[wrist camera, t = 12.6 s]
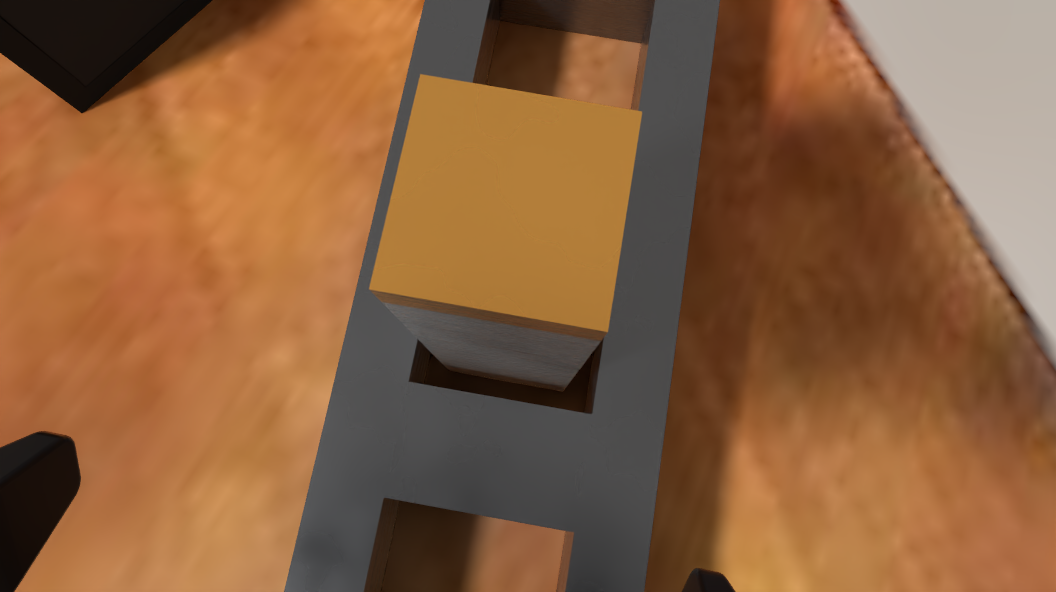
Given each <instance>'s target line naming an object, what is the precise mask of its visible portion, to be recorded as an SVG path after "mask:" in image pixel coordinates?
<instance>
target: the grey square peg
mask: <svg viewBox="0 0 1056 592" xmlns="http://www.w3.org/2000/svg"><path fill="white" fill-rule="evenodd" d="M641 117H642V111H636V110H630V109H624V108H618V107H612V106H606V105H600V104H595V103H589V102H583V101H577V100H571V99H565V98H559V97H553V96H547V95H541V94H535V93H529V92H523V91H518V90H512V89H506V88H500V87H494V86H488V85H482V84H476V83H470V82H464V81H458V80H452V79H446V78H441V77H435V76H429V75H423V74H420V78H419V82H418V86H417V90H416V94H415V98H414V103H413V107H412V111H411V115H410V119H409V124H408V128H407V132H406V136H405V140H404V144H403V149H402V153H401V157H400V161H399V165H398V170H397V174H396V178H395V182H394V186H393V190H392V195H391V199H390V203H389V207H388V211H387V216H386V220H385V224H384V228H383V232H382V236H381V241H380V245H379V249H378V253H377V257H376V262H375V266H374V270H373V274H372V278H371V282H370V287H369V290H370V291H371V292H372V293H373V294H374V295H375V296H376V297H377V298H378V299H379V300H380V301H381V302H382V303H383V304H384V305H385V306H386V307H387V308H388V309H389V310H390V311H391V312H392V313H393V314H394V315H395V316H396V317H397V318H398V319H399V320H400V321H401V322H402V323H403V324H404V325H405V326H406V327H407V328H408V329H409V331H410V332H411V333H412V334H413V335H414V336H415V337H416V338H417V339H418V340H419V341H420V342H421V343H422V344H423V345H424V346H425V347H426V348H427V349H428V350H429V351H430V352H431V353H432V354H433V355H434V356H435V357H436V358H437V359H438V360H439V361H440V362H441V363H442V364H443V365H444V366H445V367H446V368H447V369H448V370H449V371H452V372H458V373H463V374H468V375H474V376H479V377H485V378H490V379H496V380H501V381H507V382H512V383H518V384H523V385H529V386H534V387H540V388H545V389H551V390H556V391H562V392H563V391H564V389H565V388H566V387H567V385H568V384H569V383H570V381H571V380H572V379H573V377H574V376H575V375H576V373H577V372H578V371H579V370H580V368H581V367H582V366H583V364H584V363H585V362H586V360H587V359H588V358H589V356H590V355H591V354H592V352H593V351H594V350H595V348H596V347H597V346H598V344H599V343H600V342H601V340H602V339H603V338H604V336H605V335H606V334H607V333H608V328H609V322H610V315H611V309H612V303H613V296H614V290H615V283H616V277H617V271H618V264H619V258H620V252H621V245H622V239H623V232H624V226H625V220H626V213H627V207H628V200H629V194H630V188H631V181H632V175H633V168H634V162H635V156H636V149H637V143H638V137H639V130H640V124H641Z"/></svg>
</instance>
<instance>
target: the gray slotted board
mask: <svg viewBox="0 0 1056 592" xmlns="http://www.w3.org/2000/svg"><path fill="white" fill-rule="evenodd" d="M719 3H720V0H425V2H424V6H423V10H422V14H421V19H420V23H419V27H418V31H417V36H416V40H415V44H414V48H413V52H412V57H411V61H410V65H409V69H408V73H407V78H406V82H405V86H404V90H403V94H402V99H401V103H400V107H399V111H398V115H397V120H396V124H395V128H394V132H393V136H392V141H391V145H390V149H389V153H388V157H387V162H386V166H385V170H384V174H383V178H382V183H381V187H380V191H379V195H378V199H377V204H376V208H375V212H374V216H373V220H372V225H371V229H370V233H369V237H368V241H367V246H366V250H365V254H364V258H363V262H362V267H361V271H360V275H359V279H358V284H357V288H356V292H355V296H354V300H353V305H352V309H351V313H350V317H349V321H348V326H347V330H346V334H345V338H344V342H343V347H342V351H341V355H340V359H339V363H338V368H337V372H336V376H335V380H334V384H333V389H332V393H331V397H330V401H329V405H328V410H327V414H326V418H325V422H324V426H323V431H322V435H321V439H320V443H319V447H318V452H317V456H316V460H315V464H314V468H313V473H312V477H311V481H310V485H309V489H308V494H307V498H306V502H305V506H304V510H303V515H302V519H301V523H300V527H299V531H298V536H297V540H296V544H295V548H294V553H293V557H292V561H291V565H290V569H289V574H288V578H287V582H286V586H285V590H284V592H381V588H382V583H383V579H384V574H385V569H386V564H387V559H388V555H389V550H390V545H391V540H392V535H393V531H394V526H395V521H396V516H397V511H398V507H399V502H400V501H406V502H411V503H416V504H422V505H427V506H433V507H438V508H444V509H449V510H455V511H460V512H466V513H471V514H477V515H482V516H487V517H493V518H498V519H504V520H509V521H515V522H520V523H526V524H531V525H537V526H542V527H547V528H553V529H558V530H564V531H566V533H565V539H564V545H563V552H562V558H561V565H560V571H559V578H558V584H557V591H556V592H644V589H645V581H646V573H647V565H648V557H649V550H650V542H651V534H652V526H653V518H654V510H655V503H656V495H657V487H658V479H659V471H660V464H661V456H662V448H663V440H664V432H665V425H666V417H667V409H668V401H669V393H670V386H671V378H672V370H673V362H674V354H675V347H676V339H677V331H678V323H679V315H680V308H681V300H682V292H683V284H684V276H685V269H686V261H687V253H688V245H689V237H690V230H691V222H692V214H693V206H694V198H695V191H696V183H697V175H698V167H699V159H700V152H701V144H702V136H703V128H704V120H705V113H706V105H707V97H708V89H709V81H710V74H711V66H712V58H713V50H714V42H715V35H716V27H717V19H718V11H719ZM500 21H506V22H513V23H519V24H525V25H531V26H537V27H544V28H550V29H556V30H562V31H568V32H575V33H581V34H587V35H593V36H599V37H606V38H612V39H618V40H624V41H630V42H637V43H641V48H640V55H639V61H638V68H637V74H636V81H635V87H634V94H633V100H632V107H631V110H636V111H642V117H641V124H640V130H639V137H638V143H637V149H636V156H635V162H634V168H633V175H632V181H631V188H630V194H629V200H628V207H627V213H626V220H625V226H624V232H623V239H622V245H621V252H620V258H619V264H618V271H617V277H616V283H615V290H614V296H613V303H612V309H611V315H610V322H609V328H608V333H607V334H606V335H605V336H604V338H603V339H602V340H601V342H600V343H599V344H598V346H597V347H596V348H595V350H594V352H593V358H592V365H591V371H590V378H589V384H588V391H587V397H586V403H585V410H584V413H582V412H576V411H571V410H565V409H559V408H554V407H548V406H542V405H537V404H531V403H526V402H520V401H514V400H509V399H503V398H497V397H492V396H486V395H481V394H475V393H469V392H464V391H458V390H453V389H447V388H441V387H436V386H430V385H424V382H425V377H426V372H427V368H428V363H429V358H430V353H431V352H430V351H429V350H428V349H427V348H426V347H425V346H424V345H423V344H422V343H421V342H420V341H419V340H418V339H417V338H416V337H415V336H414V335H413V334H412V333H411V332H410V331H409V329H408V328H407V327H406V326H405V325H404V324H403V323H402V322H401V321H400V320H399V319H398V318H397V317H396V316H395V315H394V314H393V313H392V312H391V311H390V310H389V309H388V308H387V307H386V306H385V305H384V304H383V303H382V302H381V301H380V300H379V299H378V298H377V297H376V296H375V295H374V294H373V293H372V292H371V291H370V290H369V287H370V282H371V278H372V274H373V270H374V266H375V262H376V257H377V253H378V249H379V245H380V241H381V236H382V232H383V228H384V224H385V220H386V216H387V211H388V207H389V203H390V199H391V195H392V190H393V186H394V182H395V178H396V174H397V170H398V165H399V161H400V157H401V153H402V149H403V144H404V140H405V136H406V132H407V128H408V124H409V119H410V115H411V111H412V107H413V103H414V98H415V94H416V90H417V86H418V82H419V78H420V74H423V75H429V76H435V77H441V78H446V79H452V80H458V81H464V82H470V83H476V84H482V85H487V80H488V75H489V70H490V65H491V61H492V56H493V51H494V46H495V41H496V37H497V32H498V27H499V22H500Z"/></svg>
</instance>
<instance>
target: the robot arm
mask: <svg viewBox="0 0 1056 592" xmlns="http://www.w3.org/2000/svg"><path fill="white" fill-rule="evenodd" d="M80 481H81V475H80V469H79V464H78V458H77V452H76V447H75V443H74V441H73V439H72V438H71V437H69V436H67V435H62V434H57V433H52V432H47V431H40V432H36V433H33V434H31V435H28V436H26V437H24V438H21V439H19V440H17V441H14V442H12V443H10V444H7V445H5V446H3V447H0V592H14V591H15V590H16V588H17V587H18V585H19V584H20V582H21V581H22V579H23V578H24V576H25V575H26V573H27V572H28V570H29V568H30V567H31V565H32V564H33V562H34V561H35V559H36V557H37V556H38V554H39V553H40V551H41V549H42V548H43V546H44V545H45V543H46V542H47V540H48V538H49V537H50V535H51V534H52V532H53V531H54V529H55V527H56V526H57V524H58V523H59V521H60V520H61V518H62V516H63V515H64V513H65V512H66V510H67V508H68V507H69V505H70V504H71V502H72V501H73V499H74V497H75V496H76V494H77V492H78V489H79V486H80ZM682 592H735V590H734V589H733V587H732V586H731V584H730V583H729V581H728V580H727V578H726V577H725V576H724V575H723V574H721V573H719V572H715V571H710V570H705V569H701V568H696V569H694V570H693V571H692V572H691V574H690V576H689V578H688V580H687V582H686V584H685V586H684V588H683V590H682Z"/></svg>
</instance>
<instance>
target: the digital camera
mask: <svg viewBox="0 0 1056 592" xmlns="http://www.w3.org/2000/svg"><path fill="white" fill-rule="evenodd" d="M211 1H212V0H0V53H1V54H3V55H4V56H5V57H7V58H8V59H9V60H11V61H12V62H14V63H15V64H16V65H18V66H19V67H20V68H22V69H23V70H24V71H26V72H27V73H28V74H30V75H31V76H32V77H34V78H35V79H36V80H38V81H39V82H40V83H42V84H43V85H45V86H46V87H47V88H49V89H50V90H51V91H53V92H54V93H55V94H57V95H58V96H59V97H61V98H62V99H63V100H65V101H66V102H67V103H69V104H70V105H71V106H73V107H74V108H76V109H77V110H78V111H80V112H81V113H83V112H84V111H86V110H87V109H88V108H89V107H90V106H91V105H92V104H94V103H95V102H96V101H97V100H98V99H99V98H101V97H102V96H103V95H104V94H105V93H106V92H107V91H109V90H110V89H111V88H112V87H113V86H114V85H115V84H117V83H118V82H119V81H120V80H121V79H122V78H124V77H125V76H126V75H127V74H128V73H129V72H130V71H132V70H133V69H134V68H135V67H136V66H137V65H138V64H140V63H141V62H142V61H143V60H144V59H145V58H147V57H148V56H149V55H150V54H151V53H152V52H153V51H155V50H156V49H157V48H158V47H159V46H160V45H161V44H163V43H164V42H165V41H166V40H167V39H168V38H169V37H171V36H172V35H173V34H174V33H175V32H176V31H178V30H179V29H180V28H181V27H182V26H183V25H184V24H186V23H187V22H188V21H189V20H190V19H191V18H192V17H194V16H195V15H196V14H197V13H198V12H199V11H201V10H202V9H203V8H204V7H205V6H206V5H207V4H209V3H210V2H211Z"/></svg>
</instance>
